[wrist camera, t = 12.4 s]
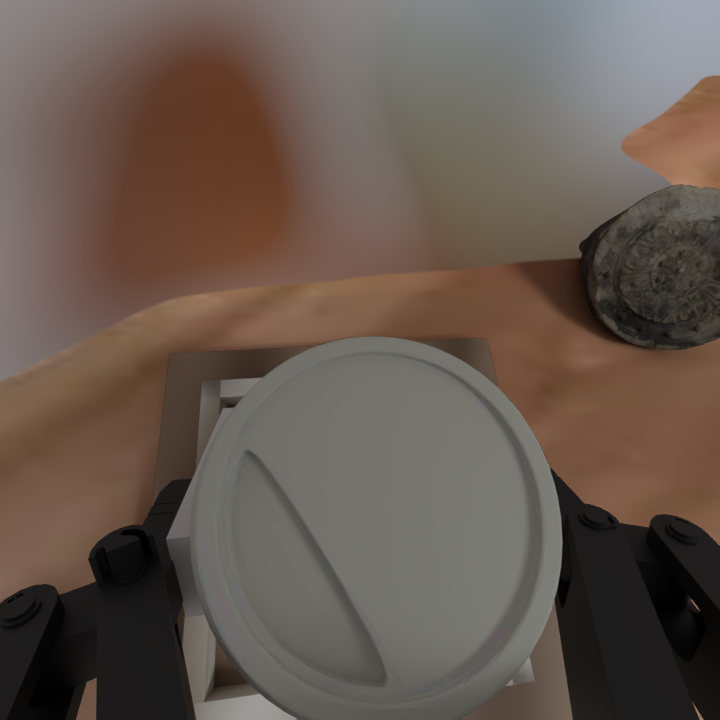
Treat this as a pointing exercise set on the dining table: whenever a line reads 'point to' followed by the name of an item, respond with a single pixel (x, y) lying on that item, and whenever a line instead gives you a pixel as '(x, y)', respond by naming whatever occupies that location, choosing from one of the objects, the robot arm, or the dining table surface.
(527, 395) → the dining table surface
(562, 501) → the robot arm
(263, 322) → the dining table surface
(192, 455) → the locating board
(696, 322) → the fossil
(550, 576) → the coffee cup
